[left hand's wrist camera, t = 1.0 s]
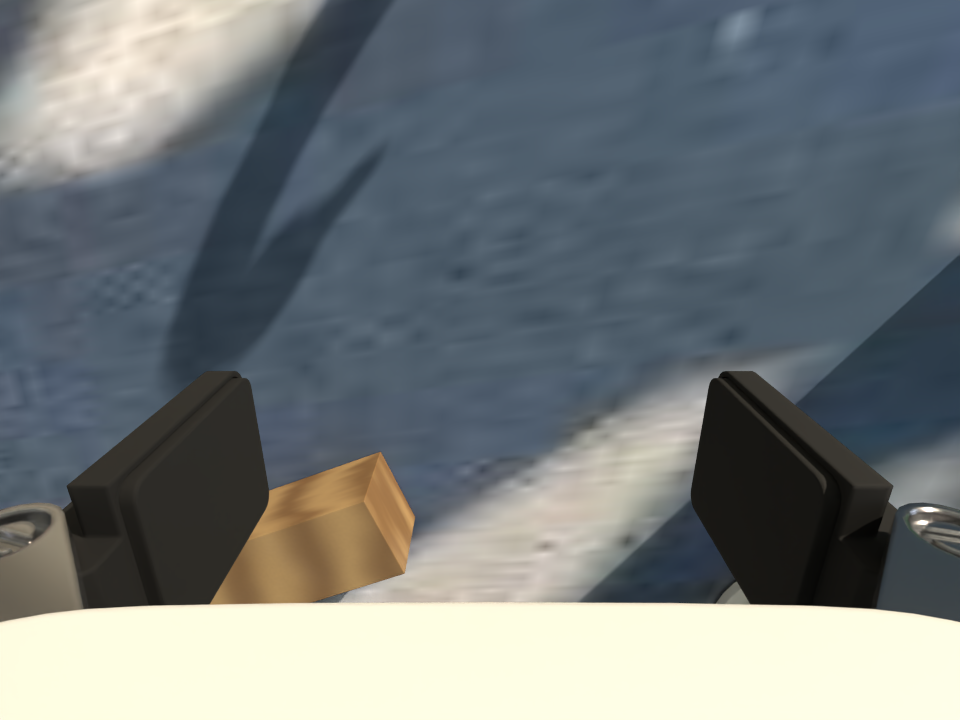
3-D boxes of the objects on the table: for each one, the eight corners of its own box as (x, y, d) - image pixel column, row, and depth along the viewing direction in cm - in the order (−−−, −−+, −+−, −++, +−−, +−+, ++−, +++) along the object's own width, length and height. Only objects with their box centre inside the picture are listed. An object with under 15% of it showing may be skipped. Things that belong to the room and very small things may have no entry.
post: (380, 451, 40) (363, 501, 35) (415, 516, 42) (404, 573, 37) (-258, 674, 49) (-355, 742, 43) (-203, 719, 51) (-288, 790, 46)
